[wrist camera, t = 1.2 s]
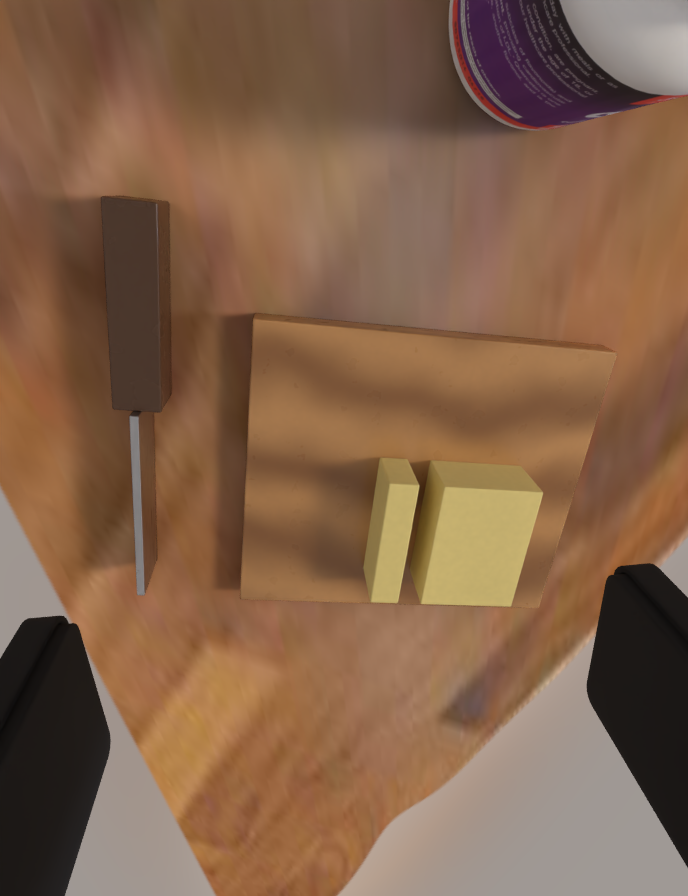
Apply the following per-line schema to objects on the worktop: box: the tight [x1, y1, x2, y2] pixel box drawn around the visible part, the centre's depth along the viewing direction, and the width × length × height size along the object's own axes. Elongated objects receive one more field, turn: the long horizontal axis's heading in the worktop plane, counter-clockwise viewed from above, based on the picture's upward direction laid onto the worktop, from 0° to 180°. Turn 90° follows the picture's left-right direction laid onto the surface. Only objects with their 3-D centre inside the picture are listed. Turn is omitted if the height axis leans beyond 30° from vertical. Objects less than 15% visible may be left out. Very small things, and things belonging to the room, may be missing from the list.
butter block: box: [410, 460, 543, 607], centre depth 30 cm, size 7×5×3 cm
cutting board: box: [240, 313, 617, 608], centre depth 31 cm, size 16×18×2 cm
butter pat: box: [363, 457, 419, 603], centre depth 30 cm, size 7×2×3 cm, turn 174°
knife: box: [101, 196, 171, 595], centre depth 27 cm, size 19×2×3 cm, turn 174°
